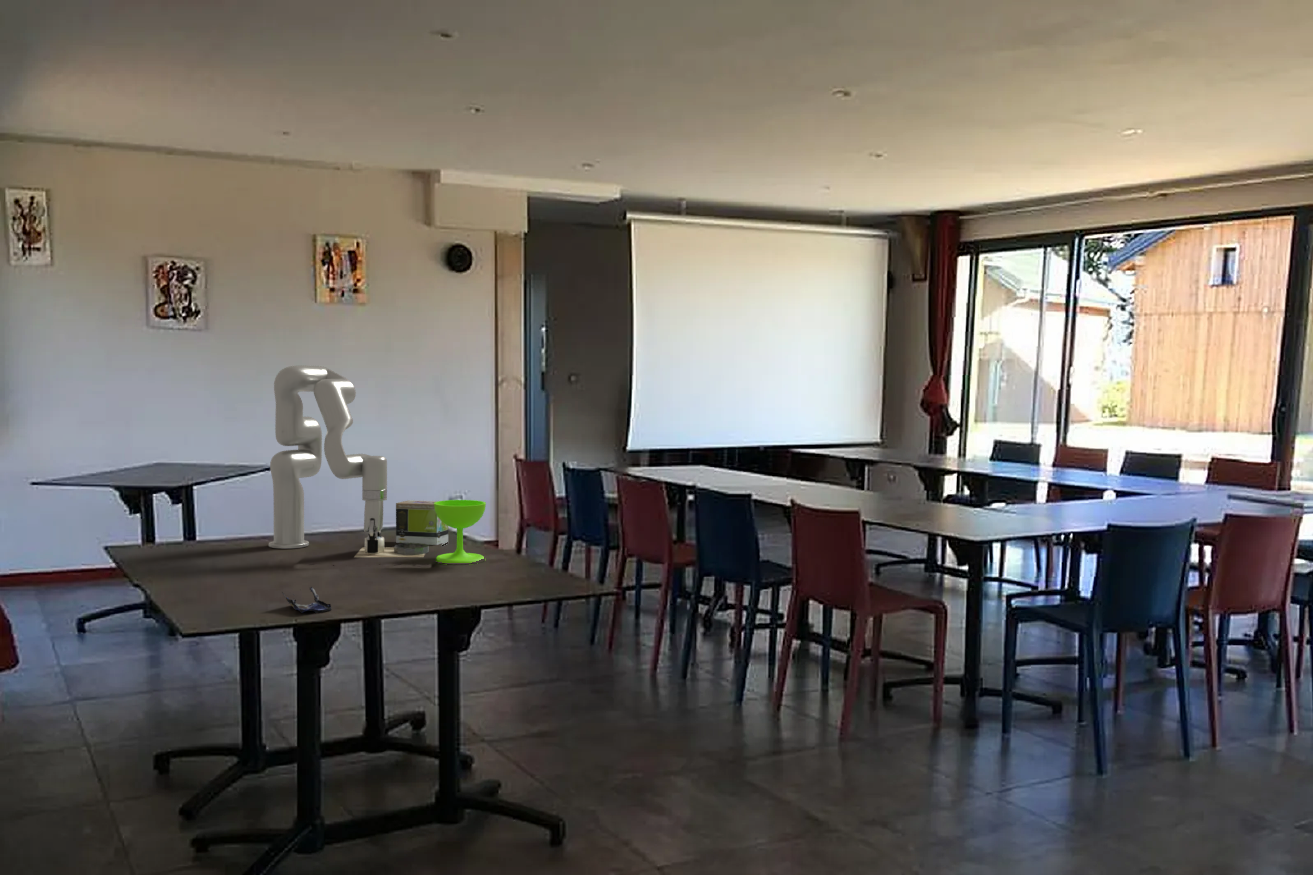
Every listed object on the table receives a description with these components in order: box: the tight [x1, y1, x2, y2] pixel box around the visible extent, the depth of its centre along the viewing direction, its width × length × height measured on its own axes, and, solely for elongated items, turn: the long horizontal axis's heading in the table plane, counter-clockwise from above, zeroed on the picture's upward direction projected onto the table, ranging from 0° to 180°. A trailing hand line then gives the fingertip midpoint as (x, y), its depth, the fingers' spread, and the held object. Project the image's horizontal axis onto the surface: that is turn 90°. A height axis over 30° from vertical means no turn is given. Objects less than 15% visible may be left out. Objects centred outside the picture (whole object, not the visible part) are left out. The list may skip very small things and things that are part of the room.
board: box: [354, 546, 426, 558], centre depth 345 cm, size 18×21×1 cm
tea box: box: [395, 499, 449, 546], centre depth 366 cm, size 15×10×15 cm, turn 77°
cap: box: [364, 536, 385, 554], centre depth 344 cm, size 6×6×5 cm
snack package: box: [281, 586, 332, 614], centre depth 268 cm, size 12×6×12 cm
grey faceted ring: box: [393, 543, 430, 555], centre depth 346 cm, size 10×10×2 cm
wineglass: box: [434, 499, 487, 563], centre depth 339 cm, size 16×16×18 cm
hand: (374, 550), depth 344 cm, fingers open, 7 cm apart
